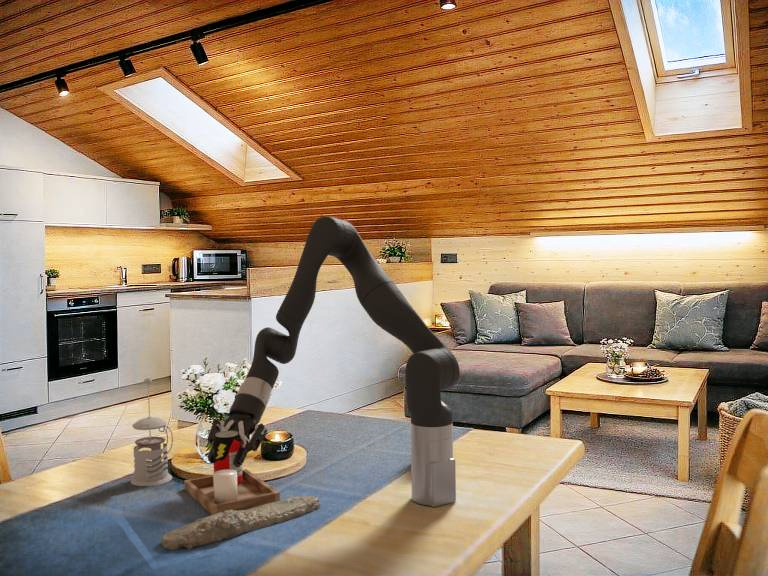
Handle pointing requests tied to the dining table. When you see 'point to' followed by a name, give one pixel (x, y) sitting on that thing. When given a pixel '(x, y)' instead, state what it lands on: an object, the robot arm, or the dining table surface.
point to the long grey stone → (237, 522)
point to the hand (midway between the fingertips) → (223, 463)
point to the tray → (249, 493)
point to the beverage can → (227, 452)
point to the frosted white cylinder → (225, 486)
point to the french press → (151, 452)
